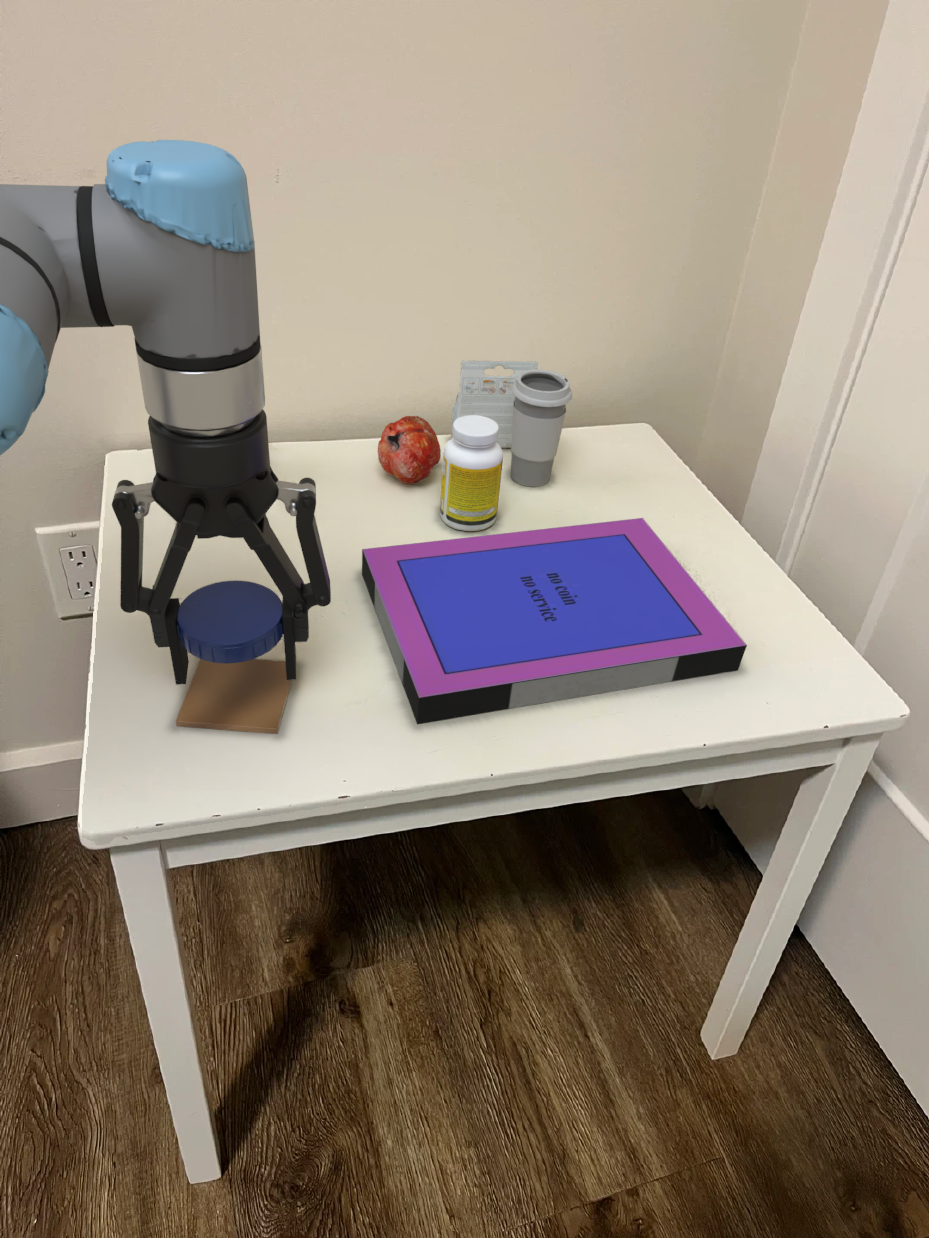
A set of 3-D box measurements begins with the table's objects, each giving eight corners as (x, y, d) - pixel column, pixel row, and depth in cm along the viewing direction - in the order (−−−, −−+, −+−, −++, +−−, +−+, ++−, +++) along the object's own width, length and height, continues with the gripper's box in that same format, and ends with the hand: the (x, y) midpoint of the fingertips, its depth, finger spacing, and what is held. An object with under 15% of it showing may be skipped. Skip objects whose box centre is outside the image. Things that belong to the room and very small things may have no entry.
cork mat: (176, 726, 72) (175, 720, 72) (202, 659, 78) (201, 654, 78) (277, 734, 72) (277, 728, 72) (295, 667, 78) (295, 661, 78)
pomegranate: (400, 472, 110) (346, 444, 102) (436, 422, 108) (384, 390, 100) (435, 506, 106) (381, 480, 98) (473, 455, 104) (422, 424, 96)
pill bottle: (507, 524, 98) (519, 431, 92) (460, 539, 96) (468, 444, 89) (474, 497, 102) (483, 406, 95) (428, 511, 99) (433, 418, 92)
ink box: (449, 439, 113) (455, 350, 105) (523, 439, 114) (534, 351, 107) (452, 450, 110) (459, 360, 103) (527, 450, 112) (539, 361, 105)
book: (362, 549, 88) (642, 517, 96) (361, 574, 89) (637, 541, 98) (418, 697, 72) (746, 645, 80) (417, 724, 74) (738, 670, 82)
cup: (566, 491, 105) (582, 394, 97) (510, 494, 103) (523, 395, 96) (547, 460, 110) (562, 366, 103) (494, 463, 109) (505, 367, 101)
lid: (293, 602, 74) (292, 584, 73) (273, 668, 68) (272, 648, 66) (194, 595, 74) (192, 576, 73) (165, 659, 68) (162, 640, 66)
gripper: (364, 386, 64) (364, 636, 78) (50, 385, 61) (110, 645, 75) (370, 437, 58) (369, 697, 72) (24, 439, 55) (94, 709, 69)
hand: (237, 670), depth 73 cm, fingers closed on lid, 8 cm apart
